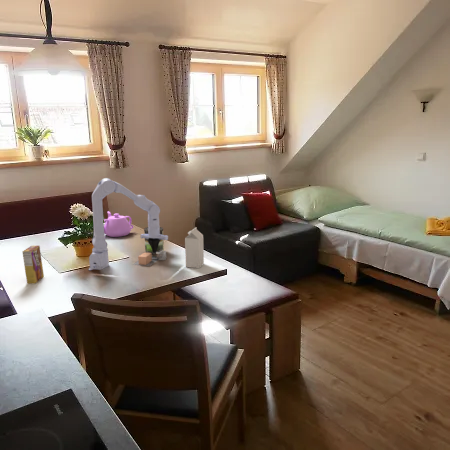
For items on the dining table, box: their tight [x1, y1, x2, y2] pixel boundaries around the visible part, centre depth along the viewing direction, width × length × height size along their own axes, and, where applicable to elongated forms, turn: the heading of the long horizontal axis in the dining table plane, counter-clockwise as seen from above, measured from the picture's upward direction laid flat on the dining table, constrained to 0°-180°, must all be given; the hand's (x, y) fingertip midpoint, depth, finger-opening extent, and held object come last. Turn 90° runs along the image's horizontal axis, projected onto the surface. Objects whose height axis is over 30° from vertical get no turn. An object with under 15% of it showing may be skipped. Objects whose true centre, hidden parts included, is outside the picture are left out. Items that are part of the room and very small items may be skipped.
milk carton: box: [184, 226, 205, 269], centre depth 208 cm, size 7×7×19 cm
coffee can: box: [143, 226, 165, 256], centre depth 229 cm, size 10×10×14 cm
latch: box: [155, 249, 167, 261], centre depth 215 cm, size 6×4×5 cm, turn 165°
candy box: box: [22, 245, 45, 285], centre depth 190 cm, size 9×4×15 cm, turn 0°
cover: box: [137, 251, 153, 265], centre depth 212 cm, size 7×4×4 cm, turn 165°
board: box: [131, 255, 159, 267], centre depth 215 cm, size 15×10×2 cm, turn 165°
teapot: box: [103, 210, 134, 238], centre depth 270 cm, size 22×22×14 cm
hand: (154, 252), depth 217 cm, fingers closed
